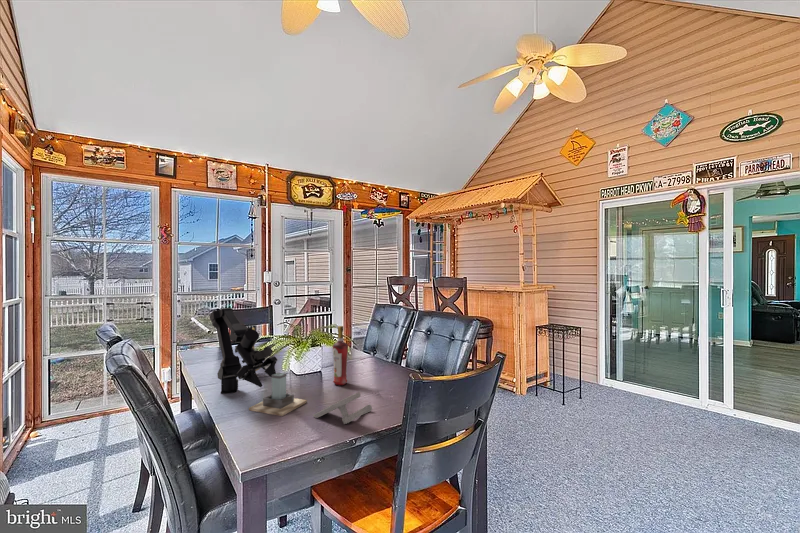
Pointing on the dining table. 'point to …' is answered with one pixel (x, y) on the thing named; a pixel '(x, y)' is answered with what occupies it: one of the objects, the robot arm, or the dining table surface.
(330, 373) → the dining table surface
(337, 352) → the liquor
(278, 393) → the rail end post
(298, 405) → the post socket
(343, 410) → the door handle
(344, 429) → the dining table surface
